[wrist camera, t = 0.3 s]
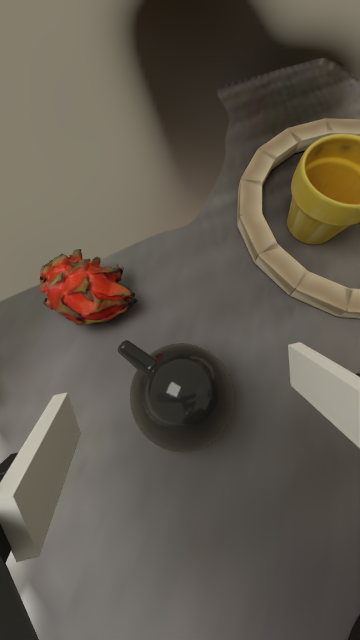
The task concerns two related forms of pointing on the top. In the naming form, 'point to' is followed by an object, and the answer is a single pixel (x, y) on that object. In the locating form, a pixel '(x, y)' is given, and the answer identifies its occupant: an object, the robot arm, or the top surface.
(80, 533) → the top surface
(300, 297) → the beige segmented ring
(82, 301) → the dragon fruit
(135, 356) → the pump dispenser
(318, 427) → the top surface
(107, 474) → the top surface
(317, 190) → the plant pot
